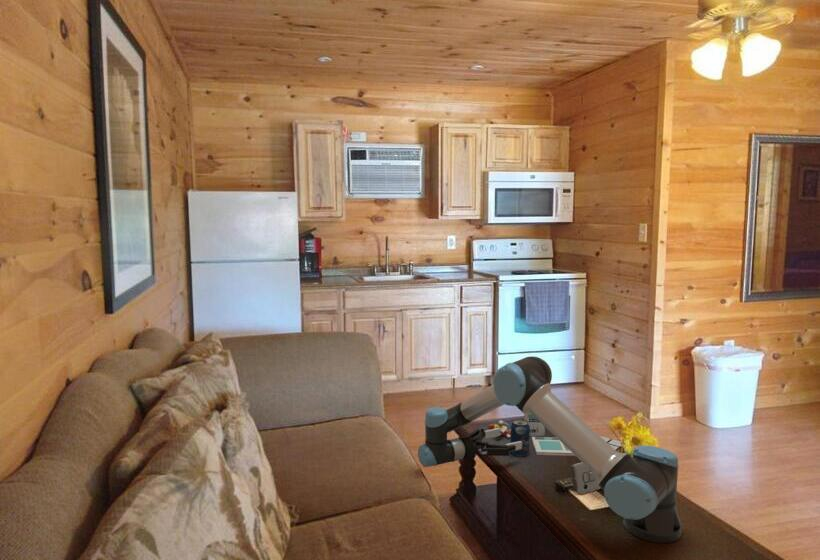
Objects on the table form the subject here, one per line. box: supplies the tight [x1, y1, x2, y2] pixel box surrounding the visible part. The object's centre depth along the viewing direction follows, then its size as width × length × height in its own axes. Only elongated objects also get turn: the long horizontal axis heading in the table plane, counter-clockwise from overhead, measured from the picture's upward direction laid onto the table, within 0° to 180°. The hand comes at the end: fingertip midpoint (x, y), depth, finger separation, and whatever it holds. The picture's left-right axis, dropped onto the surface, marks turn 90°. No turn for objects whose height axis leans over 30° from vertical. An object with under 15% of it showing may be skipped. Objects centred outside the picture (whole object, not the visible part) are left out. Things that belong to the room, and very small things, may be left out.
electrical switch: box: [569, 461, 602, 495], centre depth 183 cm, size 9×5×9 cm, turn 116°
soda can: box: [510, 419, 531, 457], centre depth 210 cm, size 7×7×12 cm
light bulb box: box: [523, 413, 546, 437], centre depth 231 cm, size 11×7×11 cm, turn 179°
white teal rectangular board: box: [531, 436, 576, 457], centre depth 215 cm, size 14×20×1 cm
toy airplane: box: [487, 419, 511, 439], centre depth 227 cm, size 9×9×6 cm
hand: (510, 438), depth 209 cm, fingers open, 13 cm apart
